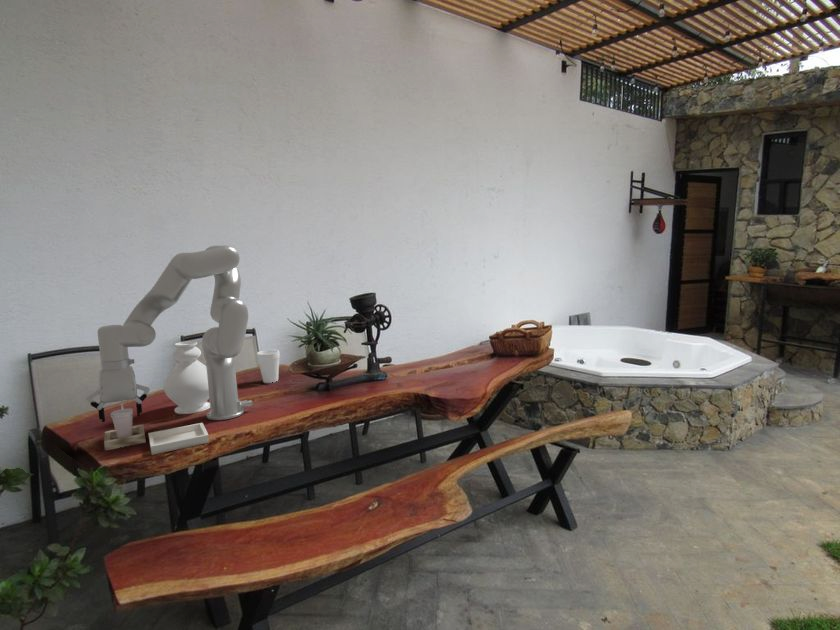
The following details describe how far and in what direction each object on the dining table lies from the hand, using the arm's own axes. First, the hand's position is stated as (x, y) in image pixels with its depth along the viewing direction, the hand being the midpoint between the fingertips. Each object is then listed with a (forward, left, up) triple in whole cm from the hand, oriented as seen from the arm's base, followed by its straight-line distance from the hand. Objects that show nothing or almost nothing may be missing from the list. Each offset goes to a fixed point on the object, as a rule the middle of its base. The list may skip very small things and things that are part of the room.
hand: (121, 418), depth 165 cm
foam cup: (-57, -42, -8) cm, 71 cm away
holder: (0, 0, -8) cm, 8 cm away
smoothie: (0, 0, -8) cm, 8 cm away
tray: (-15, +11, -8) cm, 20 cm away
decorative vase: (-23, -22, -8) cm, 33 cm away
